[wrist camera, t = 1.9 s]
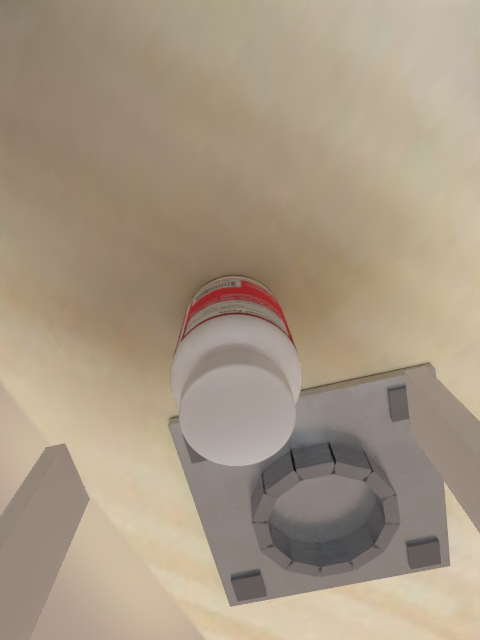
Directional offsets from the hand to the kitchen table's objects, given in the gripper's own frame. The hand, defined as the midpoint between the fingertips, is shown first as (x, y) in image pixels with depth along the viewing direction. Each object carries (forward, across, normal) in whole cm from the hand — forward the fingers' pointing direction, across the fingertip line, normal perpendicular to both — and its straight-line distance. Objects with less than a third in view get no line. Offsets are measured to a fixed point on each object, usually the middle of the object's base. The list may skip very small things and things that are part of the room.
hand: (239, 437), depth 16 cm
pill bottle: (+12, 0, 0) cm, 12 cm away
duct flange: (+12, +3, -14) cm, 19 cm away
